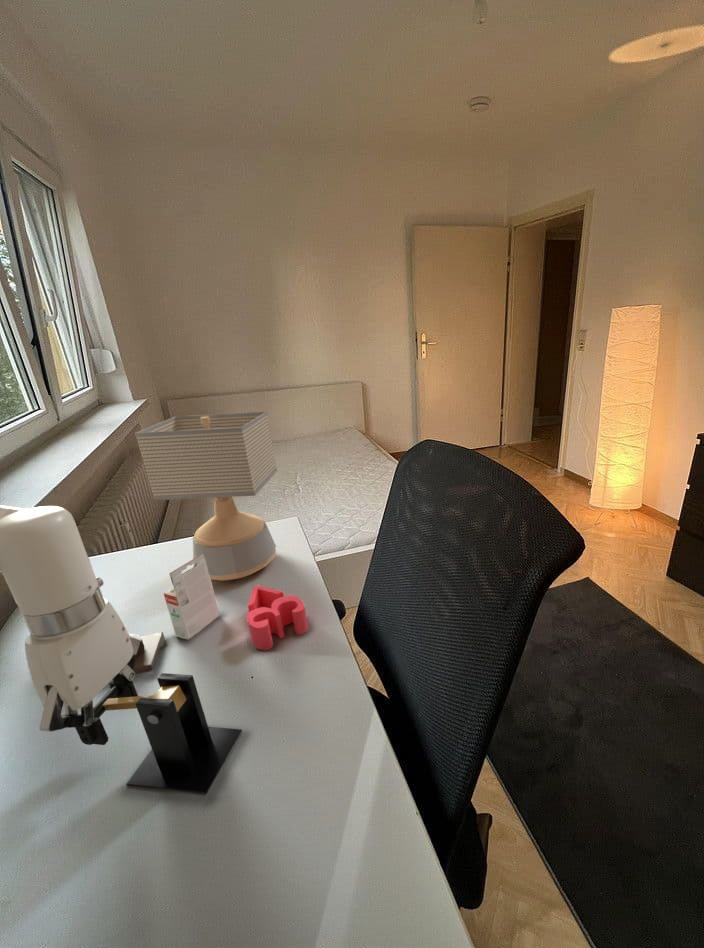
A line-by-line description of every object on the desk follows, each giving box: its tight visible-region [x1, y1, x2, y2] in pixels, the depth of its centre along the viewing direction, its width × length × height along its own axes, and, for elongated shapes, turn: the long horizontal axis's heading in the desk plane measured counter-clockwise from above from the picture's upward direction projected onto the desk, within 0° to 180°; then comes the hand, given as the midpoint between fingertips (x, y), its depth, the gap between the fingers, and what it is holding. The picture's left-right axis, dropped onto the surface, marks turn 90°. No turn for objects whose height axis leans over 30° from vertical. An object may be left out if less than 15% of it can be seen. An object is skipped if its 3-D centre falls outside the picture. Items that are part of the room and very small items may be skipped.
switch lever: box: [93, 685, 187, 719], centre depth 57 cm, size 12×5×2 cm, turn 82°
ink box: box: [163, 554, 221, 641], centre depth 84 cm, size 4×8×15 cm, turn 156°
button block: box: [128, 631, 166, 675], centre depth 77 cm, size 11×9×4 cm
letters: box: [246, 584, 309, 651], centre depth 86 cm, size 14×10×5 cm
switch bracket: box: [126, 672, 243, 795], centre depth 57 cm, size 11×9×13 cm
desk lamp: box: [134, 411, 278, 581], centre depth 101 cm, size 22×19×37 cm
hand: (113, 721), depth 59 cm, fingers closed on switch lever, 5 cm apart
